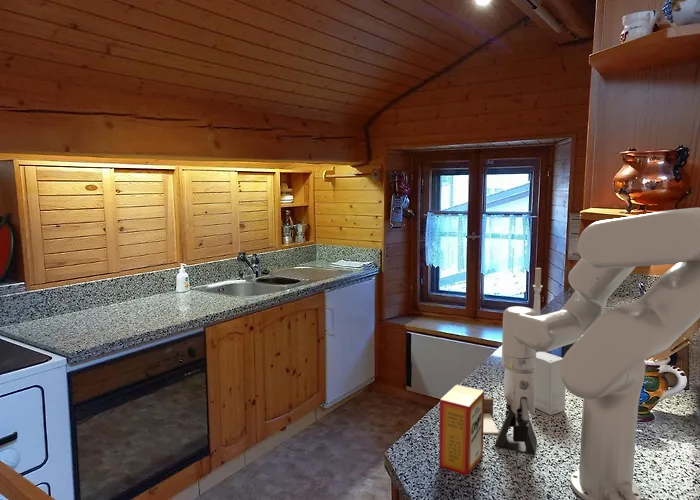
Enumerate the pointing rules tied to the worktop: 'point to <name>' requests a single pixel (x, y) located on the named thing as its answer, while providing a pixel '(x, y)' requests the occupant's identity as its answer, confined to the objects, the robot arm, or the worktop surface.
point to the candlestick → (537, 290)
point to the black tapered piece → (507, 441)
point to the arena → (488, 405)
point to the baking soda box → (461, 429)
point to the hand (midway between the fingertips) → (516, 432)
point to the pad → (489, 425)
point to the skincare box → (548, 384)
